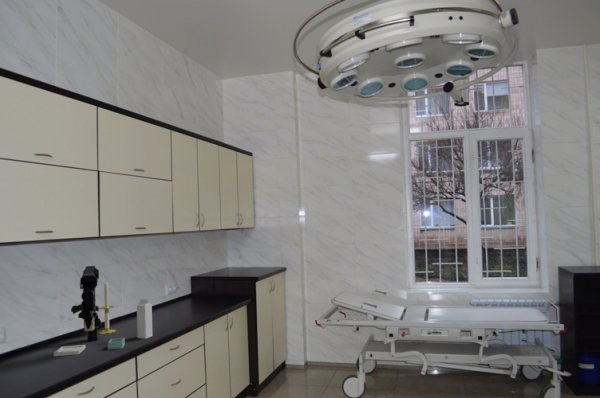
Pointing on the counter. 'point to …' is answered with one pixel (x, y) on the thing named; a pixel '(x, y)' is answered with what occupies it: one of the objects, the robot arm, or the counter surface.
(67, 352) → the dish
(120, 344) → the light blue box
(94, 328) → the beige jar
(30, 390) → the counter surface
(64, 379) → the counter surface
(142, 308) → the milk
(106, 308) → the candle
